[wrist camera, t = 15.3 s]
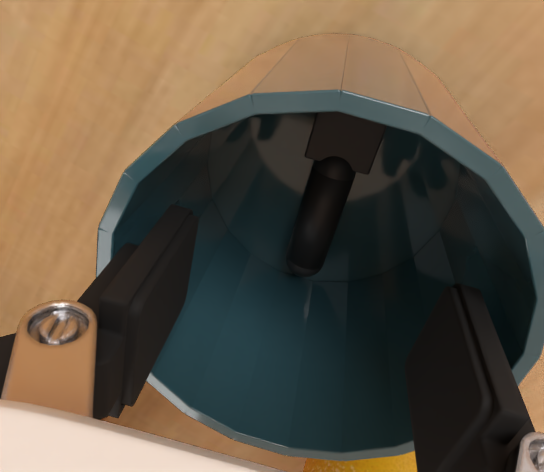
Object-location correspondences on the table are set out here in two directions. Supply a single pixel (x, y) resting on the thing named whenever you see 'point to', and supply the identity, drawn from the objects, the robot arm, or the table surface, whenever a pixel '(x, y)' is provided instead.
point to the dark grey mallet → (330, 184)
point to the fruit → (364, 464)
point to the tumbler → (342, 253)
